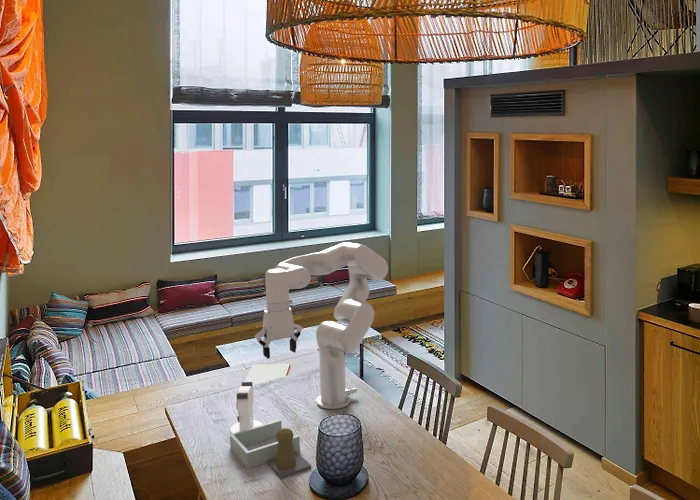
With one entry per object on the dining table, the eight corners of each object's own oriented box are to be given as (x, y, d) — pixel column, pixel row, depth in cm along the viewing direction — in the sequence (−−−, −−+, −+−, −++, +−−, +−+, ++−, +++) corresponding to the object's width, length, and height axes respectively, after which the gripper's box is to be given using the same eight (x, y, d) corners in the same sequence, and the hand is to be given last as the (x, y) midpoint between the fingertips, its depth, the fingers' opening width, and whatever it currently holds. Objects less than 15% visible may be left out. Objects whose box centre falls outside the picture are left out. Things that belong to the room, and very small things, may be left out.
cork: (292, 470, 173) (291, 436, 171) (273, 468, 174) (271, 434, 172) (298, 459, 179) (297, 426, 177) (279, 457, 180) (278, 424, 178)
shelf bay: (280, 433, 198) (280, 419, 197) (300, 450, 186) (299, 436, 185) (230, 448, 188) (229, 434, 187) (247, 468, 176) (246, 453, 176)
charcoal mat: (295, 453, 184) (295, 451, 184) (311, 468, 176) (311, 465, 176) (267, 463, 179) (266, 460, 179) (281, 479, 171) (281, 475, 170)
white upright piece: (234, 420, 208) (231, 380, 205) (265, 419, 208) (263, 380, 205) (227, 437, 196) (224, 395, 193) (261, 436, 196) (258, 394, 193)
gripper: (295, 299, 202) (297, 346, 205) (249, 307, 193) (252, 356, 196) (306, 304, 196) (307, 352, 199) (258, 312, 187) (261, 363, 190)
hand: (280, 354), depth 198 cm, fingers open, 9 cm apart
